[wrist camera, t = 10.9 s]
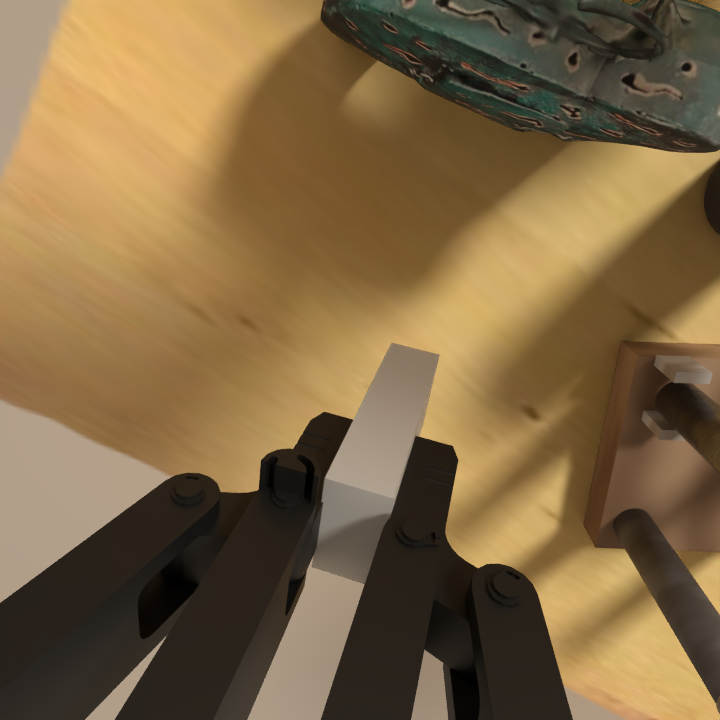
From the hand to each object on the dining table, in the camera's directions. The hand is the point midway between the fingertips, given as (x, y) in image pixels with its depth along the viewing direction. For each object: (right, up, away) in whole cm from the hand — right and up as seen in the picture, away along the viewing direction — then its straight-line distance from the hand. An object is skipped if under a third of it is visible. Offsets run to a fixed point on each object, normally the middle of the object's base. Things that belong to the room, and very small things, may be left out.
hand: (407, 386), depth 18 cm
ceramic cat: (+6, +20, +20) cm, 29 cm away
